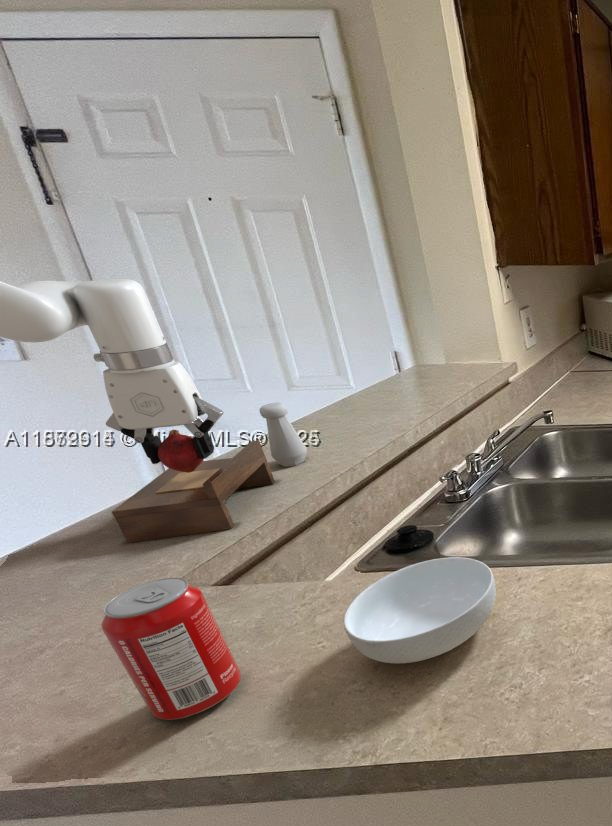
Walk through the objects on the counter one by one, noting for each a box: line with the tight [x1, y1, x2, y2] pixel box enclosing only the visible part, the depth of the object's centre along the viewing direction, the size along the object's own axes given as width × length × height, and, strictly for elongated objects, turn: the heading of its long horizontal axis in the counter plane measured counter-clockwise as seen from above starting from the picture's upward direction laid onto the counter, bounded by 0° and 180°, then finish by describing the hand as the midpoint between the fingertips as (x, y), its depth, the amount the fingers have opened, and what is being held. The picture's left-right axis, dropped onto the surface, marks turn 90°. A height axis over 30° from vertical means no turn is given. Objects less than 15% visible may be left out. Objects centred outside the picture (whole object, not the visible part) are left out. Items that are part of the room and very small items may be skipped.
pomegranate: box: [158, 429, 205, 473], centre depth 106 cm, size 6×6×8 cm
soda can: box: [101, 577, 242, 721], centre depth 69 cm, size 8×8×15 cm
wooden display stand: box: [111, 440, 276, 544], centre depth 109 cm, size 14×18×9 cm
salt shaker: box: [259, 402, 308, 468], centre depth 125 cm, size 6×6×13 cm
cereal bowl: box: [343, 556, 497, 664], centre depth 80 cm, size 17×17×7 cm
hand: (183, 457), depth 106 cm, fingers closed on pomegranate, 5 cm apart
